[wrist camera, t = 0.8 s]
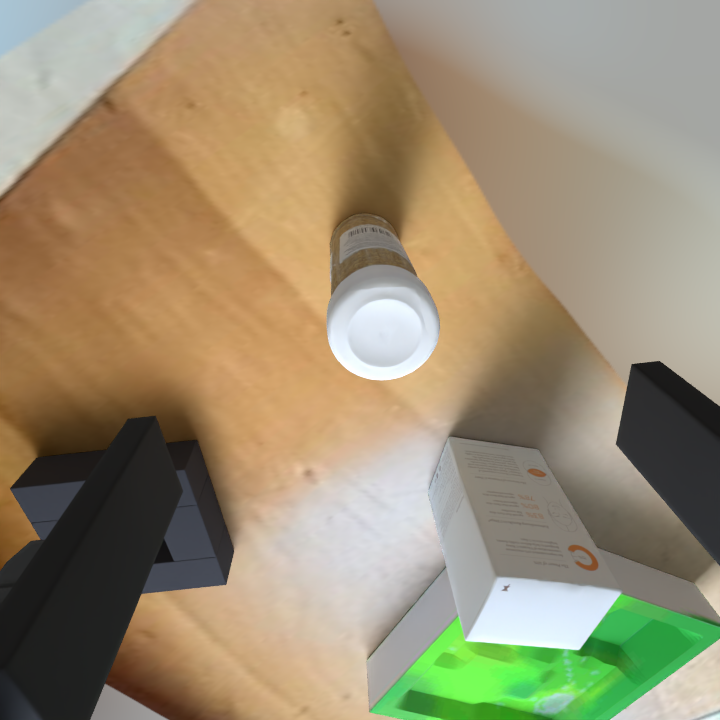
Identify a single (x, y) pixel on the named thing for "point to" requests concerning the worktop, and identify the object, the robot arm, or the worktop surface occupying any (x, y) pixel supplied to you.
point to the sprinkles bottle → (377, 302)
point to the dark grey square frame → (184, 535)
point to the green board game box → (541, 656)
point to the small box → (516, 548)
